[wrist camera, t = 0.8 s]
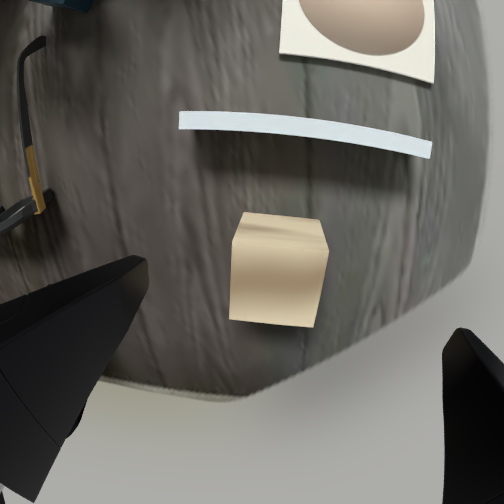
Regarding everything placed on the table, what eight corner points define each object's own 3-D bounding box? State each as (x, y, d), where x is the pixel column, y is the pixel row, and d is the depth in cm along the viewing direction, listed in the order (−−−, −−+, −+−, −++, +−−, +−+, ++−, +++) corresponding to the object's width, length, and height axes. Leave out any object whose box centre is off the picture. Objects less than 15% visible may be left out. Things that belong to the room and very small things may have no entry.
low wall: (410, 151, 17) (429, 158, 15) (194, 126, 18) (178, 129, 16) (412, 137, 17) (432, 142, 14) (194, 111, 18) (179, 111, 15)
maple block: (308, 284, 22) (313, 327, 18) (240, 277, 23) (229, 319, 18) (319, 219, 20) (328, 251, 16) (243, 211, 20) (232, 241, 16)
